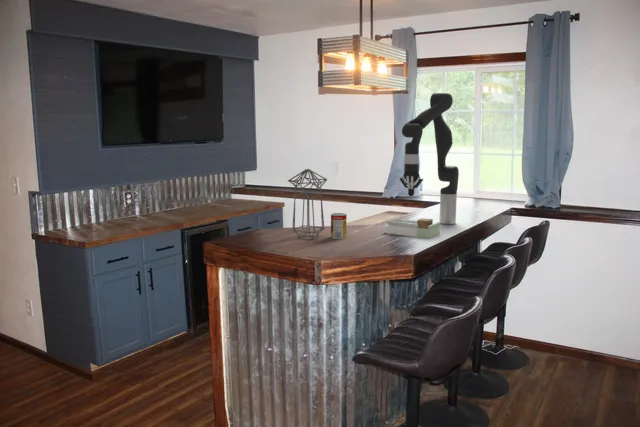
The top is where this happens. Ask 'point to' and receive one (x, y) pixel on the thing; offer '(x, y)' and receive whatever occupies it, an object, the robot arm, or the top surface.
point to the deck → (414, 230)
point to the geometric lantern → (308, 201)
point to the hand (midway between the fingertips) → (411, 195)
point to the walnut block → (424, 222)
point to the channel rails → (404, 223)
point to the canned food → (338, 225)
